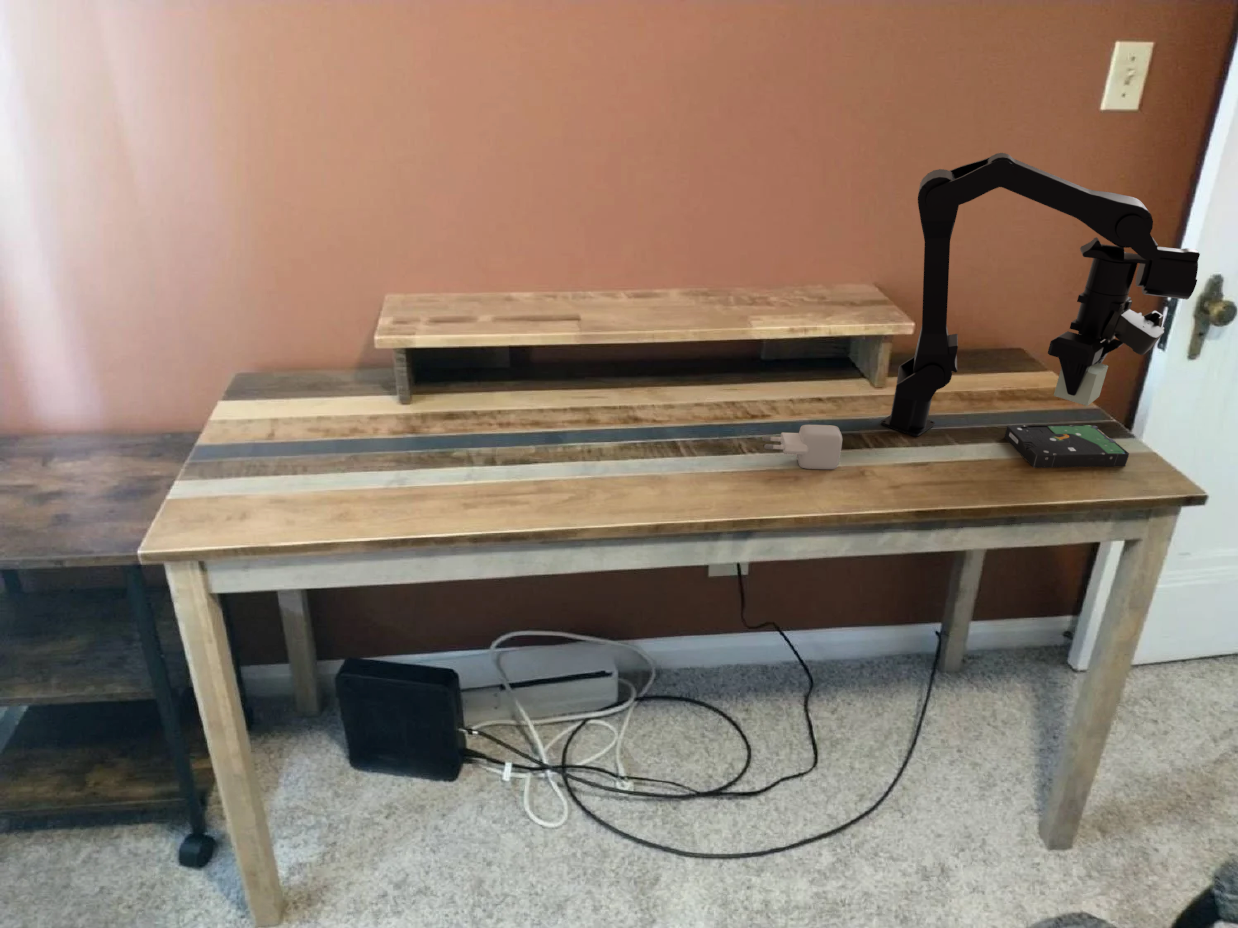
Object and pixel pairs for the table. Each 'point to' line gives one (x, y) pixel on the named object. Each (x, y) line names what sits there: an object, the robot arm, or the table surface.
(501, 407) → the table surface
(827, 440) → the power adapter
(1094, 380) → the sage block
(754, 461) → the table surface
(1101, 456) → the disk drive
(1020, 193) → the robot arm
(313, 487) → the table surface
